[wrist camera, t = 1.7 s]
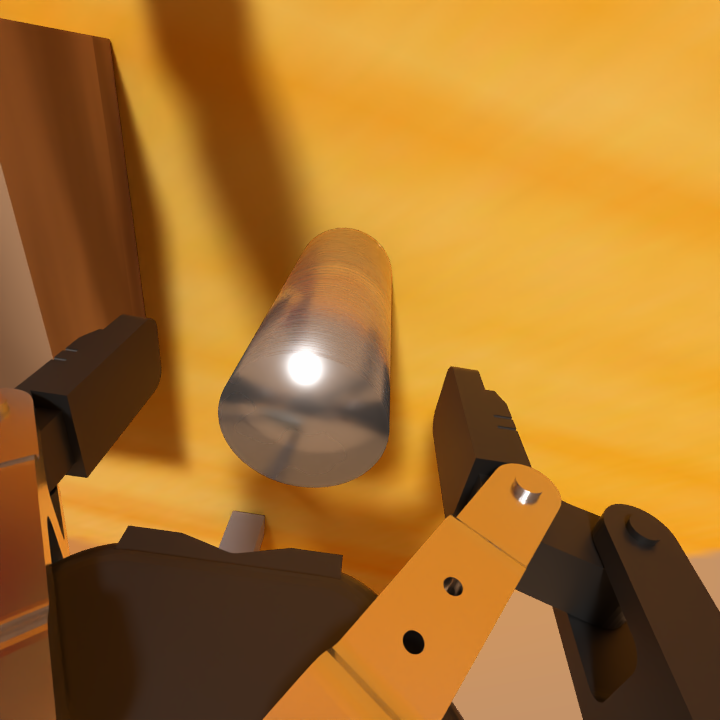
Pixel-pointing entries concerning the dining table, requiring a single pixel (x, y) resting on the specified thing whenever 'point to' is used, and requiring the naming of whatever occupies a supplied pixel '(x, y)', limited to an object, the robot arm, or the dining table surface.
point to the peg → (317, 369)
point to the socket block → (60, 197)
